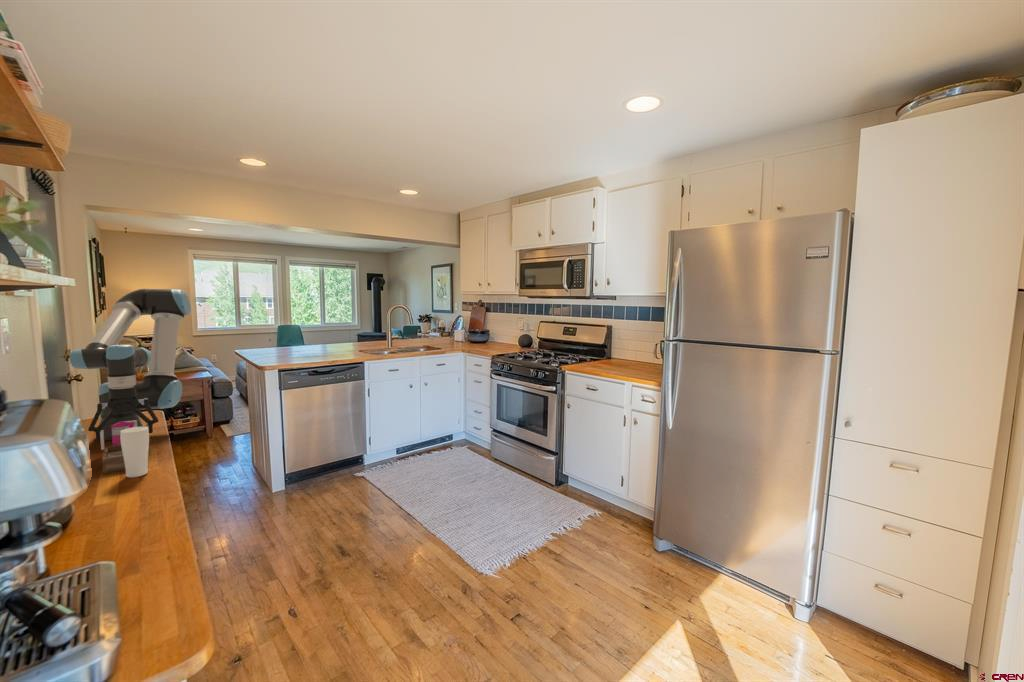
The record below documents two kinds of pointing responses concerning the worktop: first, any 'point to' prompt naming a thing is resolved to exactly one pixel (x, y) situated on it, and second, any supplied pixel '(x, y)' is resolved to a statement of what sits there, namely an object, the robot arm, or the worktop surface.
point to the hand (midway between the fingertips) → (126, 445)
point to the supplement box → (119, 427)
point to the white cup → (135, 450)
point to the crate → (113, 459)
